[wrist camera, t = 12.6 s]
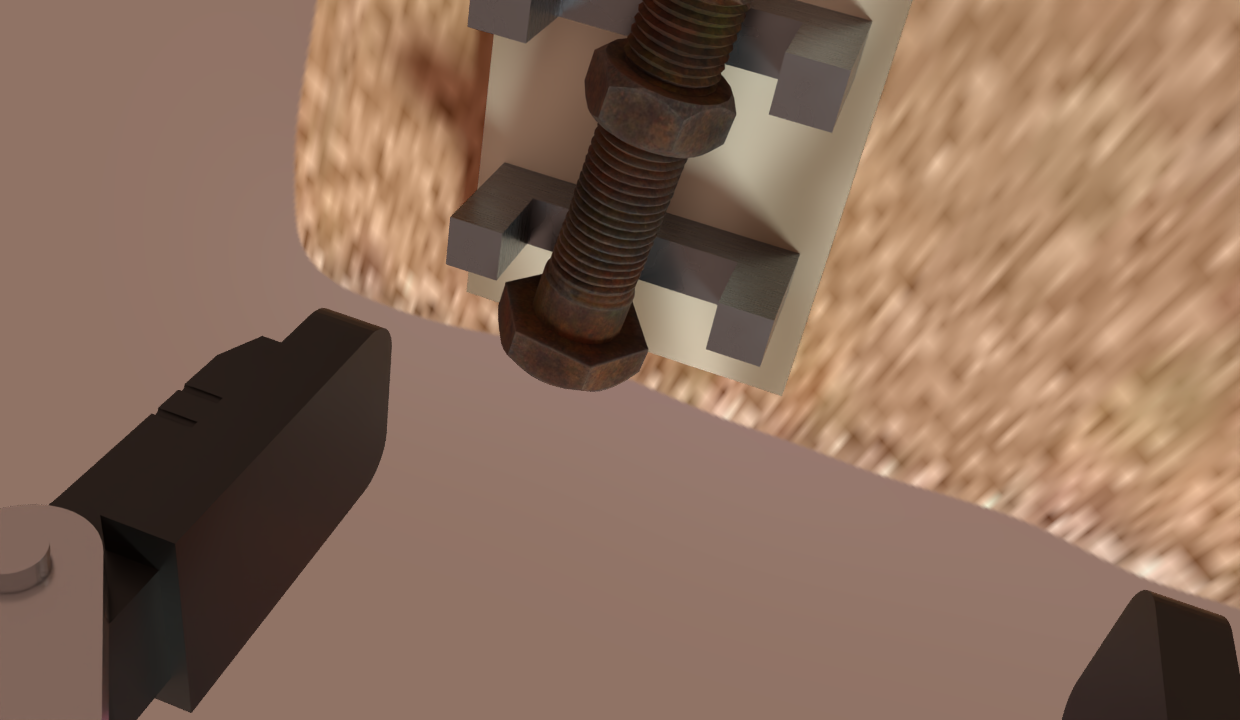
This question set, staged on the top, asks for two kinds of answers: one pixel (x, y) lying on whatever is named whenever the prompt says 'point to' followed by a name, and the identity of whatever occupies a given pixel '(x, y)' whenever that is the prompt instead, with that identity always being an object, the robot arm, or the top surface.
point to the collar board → (697, 174)
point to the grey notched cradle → (684, 249)
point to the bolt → (624, 192)
